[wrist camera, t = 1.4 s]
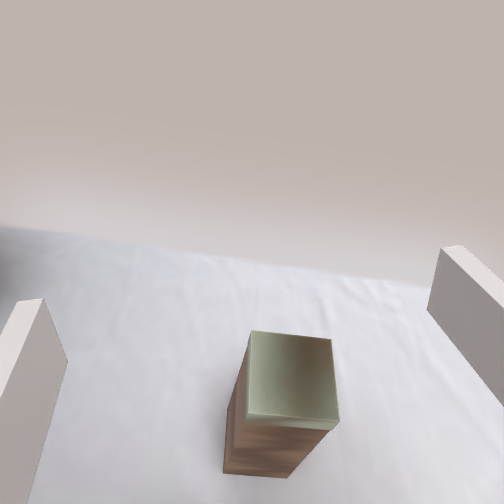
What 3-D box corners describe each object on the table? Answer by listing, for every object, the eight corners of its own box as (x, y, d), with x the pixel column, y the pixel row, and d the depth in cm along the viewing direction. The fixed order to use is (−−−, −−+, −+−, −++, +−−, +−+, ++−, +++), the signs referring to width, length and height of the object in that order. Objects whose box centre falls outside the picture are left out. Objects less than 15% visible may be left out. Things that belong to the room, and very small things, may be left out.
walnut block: (222, 474, 32) (248, 413, 23) (227, 407, 36) (251, 330, 26) (287, 479, 33) (339, 421, 23) (285, 413, 36) (331, 339, 27)
